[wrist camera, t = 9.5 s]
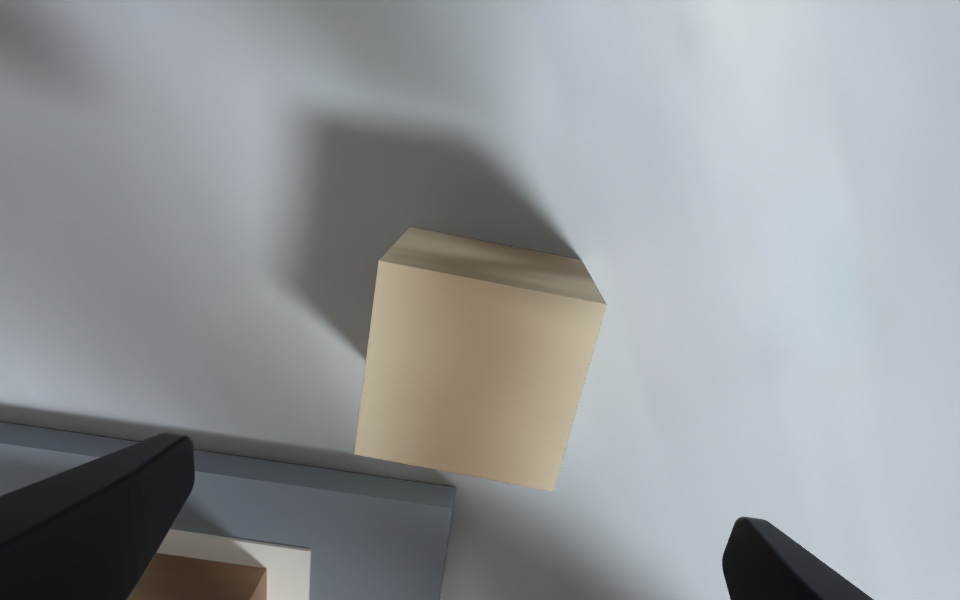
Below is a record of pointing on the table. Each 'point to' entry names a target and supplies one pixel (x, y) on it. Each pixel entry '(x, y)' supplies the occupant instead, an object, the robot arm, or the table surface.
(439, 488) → the board
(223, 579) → the walnut block
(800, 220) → the table surface
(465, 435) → the birch cube
